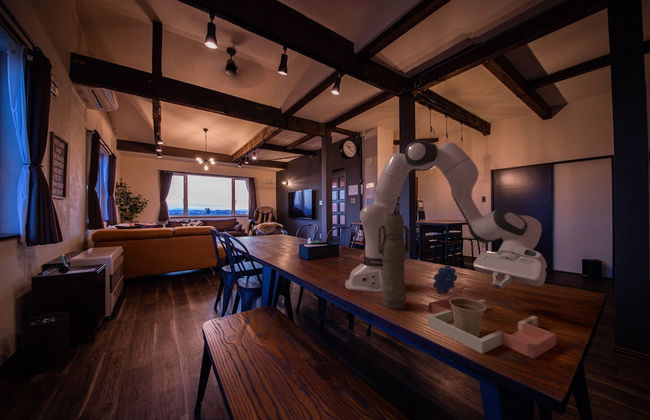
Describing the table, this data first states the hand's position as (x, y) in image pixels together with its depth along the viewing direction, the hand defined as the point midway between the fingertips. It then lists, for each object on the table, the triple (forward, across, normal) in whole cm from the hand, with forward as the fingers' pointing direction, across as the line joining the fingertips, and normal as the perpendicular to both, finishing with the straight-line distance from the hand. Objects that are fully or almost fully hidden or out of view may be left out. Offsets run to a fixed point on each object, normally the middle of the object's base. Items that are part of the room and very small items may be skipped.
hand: (497, 286), depth 80 cm
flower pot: (+20, +1, -5) cm, 21 cm away
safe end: (+21, +1, -6) cm, 22 cm away
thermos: (+24, -25, -8) cm, 35 cm away
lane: (+7, +1, +8) cm, 11 cm away
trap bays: (+14, +1, +1) cm, 14 cm away
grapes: (+3, -24, +12) cm, 28 cm away
